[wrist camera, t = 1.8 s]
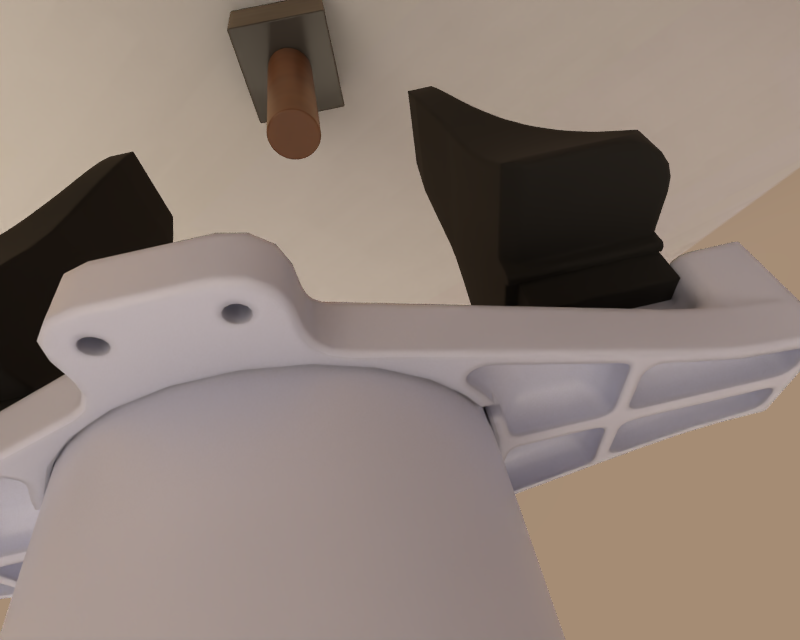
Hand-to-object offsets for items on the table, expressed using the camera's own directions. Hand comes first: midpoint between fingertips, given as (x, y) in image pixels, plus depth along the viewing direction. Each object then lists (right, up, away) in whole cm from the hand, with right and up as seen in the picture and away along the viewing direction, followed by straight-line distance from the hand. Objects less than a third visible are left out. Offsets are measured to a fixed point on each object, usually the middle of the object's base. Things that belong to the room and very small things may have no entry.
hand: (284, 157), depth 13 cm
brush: (-1, +6, +6) cm, 9 cm away
